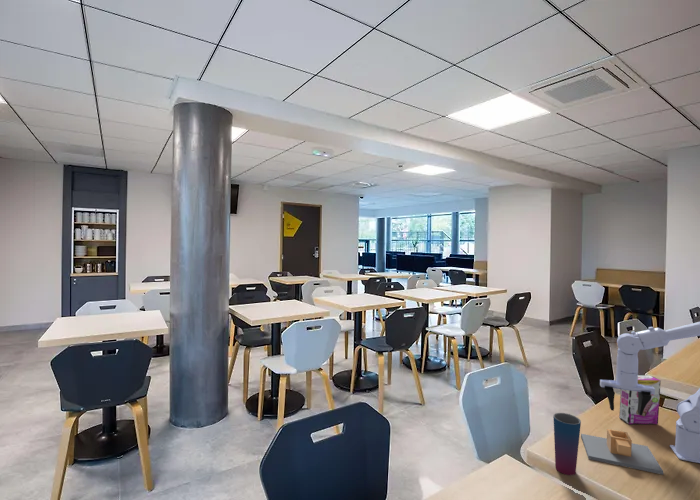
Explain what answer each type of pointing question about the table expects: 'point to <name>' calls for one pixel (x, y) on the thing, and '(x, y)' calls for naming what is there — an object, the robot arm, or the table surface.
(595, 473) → the table surface
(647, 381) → the candy bar box
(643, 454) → the duct board
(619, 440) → the tan square tube
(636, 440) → the table surface
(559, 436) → the cup
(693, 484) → the table surface
